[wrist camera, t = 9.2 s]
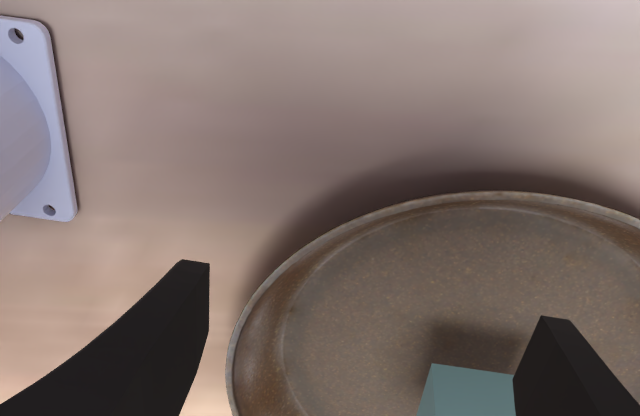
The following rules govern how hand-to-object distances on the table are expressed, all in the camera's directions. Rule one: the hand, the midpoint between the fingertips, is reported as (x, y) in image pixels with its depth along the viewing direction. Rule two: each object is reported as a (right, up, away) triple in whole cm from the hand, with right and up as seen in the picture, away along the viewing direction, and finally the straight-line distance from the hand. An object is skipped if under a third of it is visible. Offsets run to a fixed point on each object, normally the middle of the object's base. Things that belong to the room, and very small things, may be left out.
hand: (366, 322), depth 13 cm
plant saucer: (+6, -4, +14) cm, 15 cm away
